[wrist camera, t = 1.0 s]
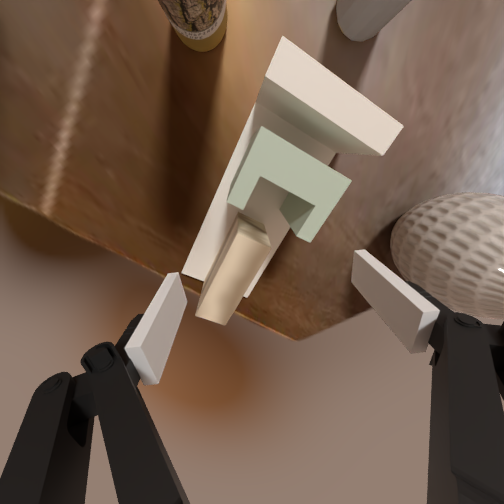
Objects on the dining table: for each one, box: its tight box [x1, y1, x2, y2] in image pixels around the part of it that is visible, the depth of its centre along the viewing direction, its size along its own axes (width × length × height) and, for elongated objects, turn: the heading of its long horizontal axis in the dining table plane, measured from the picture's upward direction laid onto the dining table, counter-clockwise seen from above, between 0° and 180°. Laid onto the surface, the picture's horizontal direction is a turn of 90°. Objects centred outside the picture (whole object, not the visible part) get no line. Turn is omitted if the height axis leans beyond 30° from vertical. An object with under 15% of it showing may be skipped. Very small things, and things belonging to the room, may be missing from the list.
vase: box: [390, 192, 504, 319], centre depth 30 cm, size 16×16×22 cm
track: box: [182, 36, 404, 298], centre depth 31 cm, size 14×34×13 cm, turn 153°
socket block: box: [227, 126, 352, 242], centre depth 28 cm, size 11×8×12 cm
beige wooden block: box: [196, 212, 272, 325], centre depth 35 cm, size 5×15×10 cm, turn 153°
